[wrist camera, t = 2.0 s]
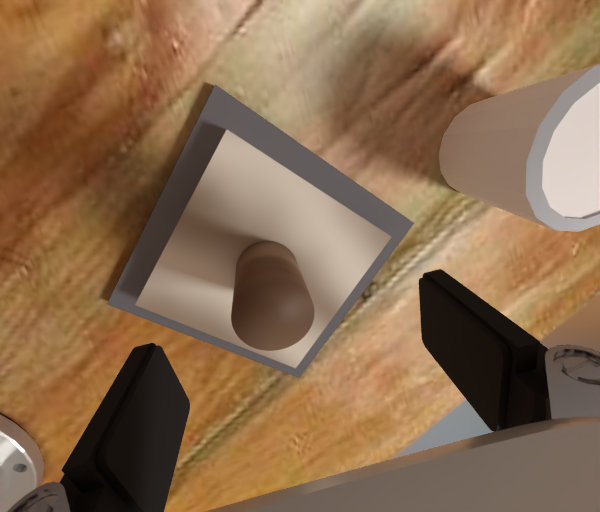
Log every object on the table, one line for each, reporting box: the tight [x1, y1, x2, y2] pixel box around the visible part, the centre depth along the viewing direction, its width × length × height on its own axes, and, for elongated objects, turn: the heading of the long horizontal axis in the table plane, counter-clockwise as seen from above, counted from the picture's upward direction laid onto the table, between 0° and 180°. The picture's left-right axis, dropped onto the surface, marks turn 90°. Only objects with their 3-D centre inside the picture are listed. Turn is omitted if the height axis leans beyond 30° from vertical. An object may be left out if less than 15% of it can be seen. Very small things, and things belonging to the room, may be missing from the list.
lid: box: [135, 130, 391, 368], centre depth 15 cm, size 11×11×6 cm
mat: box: [107, 85, 414, 378], centre depth 18 cm, size 14×14×1 cm
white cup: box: [439, 64, 600, 232], centre depth 15 cm, size 7×7×7 cm
